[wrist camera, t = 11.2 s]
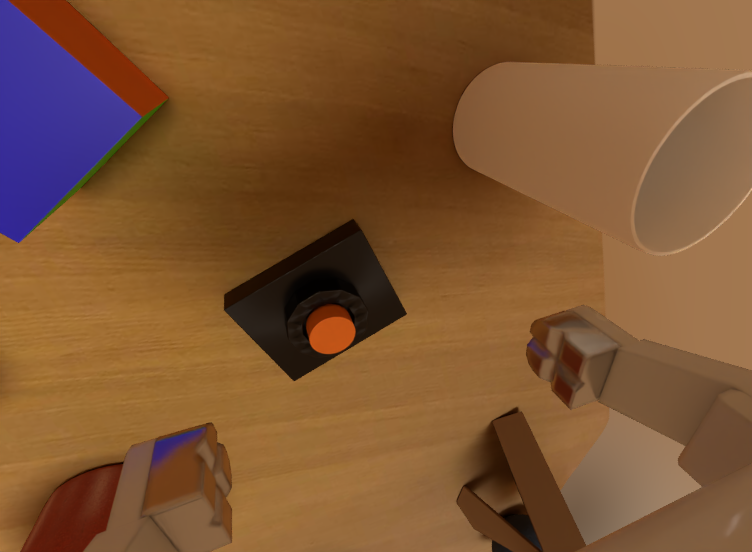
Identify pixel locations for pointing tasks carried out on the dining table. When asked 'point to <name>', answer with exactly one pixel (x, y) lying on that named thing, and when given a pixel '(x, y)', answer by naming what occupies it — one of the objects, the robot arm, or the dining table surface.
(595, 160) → the cup
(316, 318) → the timer button
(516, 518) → the decorative stone
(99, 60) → the cube
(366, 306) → the button base
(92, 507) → the flower pot
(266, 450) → the dining table surface
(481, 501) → the photo frame
